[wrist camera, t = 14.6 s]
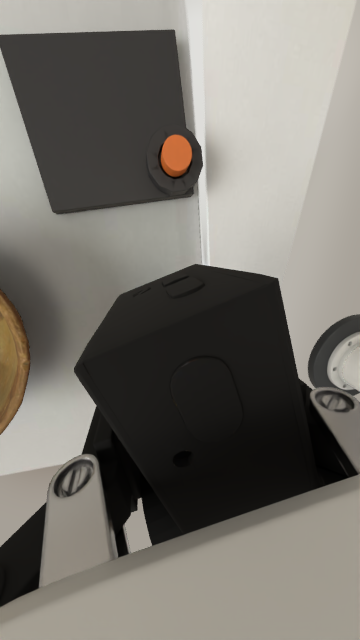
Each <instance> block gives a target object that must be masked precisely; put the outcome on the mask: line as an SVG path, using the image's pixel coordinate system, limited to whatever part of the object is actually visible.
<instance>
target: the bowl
mask: <svg viewBox="0 0 360 640" xmlns="http://www.w3.org/2000/svg"><path fill="white" fill-rule="evenodd" d="M29 348H30V346H29V342H28V339H27V336H26V331H25V329H24V326H23V321H22V320H21V316H20V315H19V313H18V311H17V310H16V308H15V307H14V305H13V304H12V302H11V301H10V300H9V299H8V298H7V296H6V295H5V294H4V293H3V292H2V290H1V289H0V435H1V434H2V433H3V431H4V430H5V429H6V428H7V426H8V425H9V423H10V422H11V421H12V419H13V418H14V416H15V414H16V413H17V411H18V409H19V407H20V406H21V404H22V401H23V397H24V393H25V389H26V385H27V380H28V375H29V370H30V353H29Z"/></svg>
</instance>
